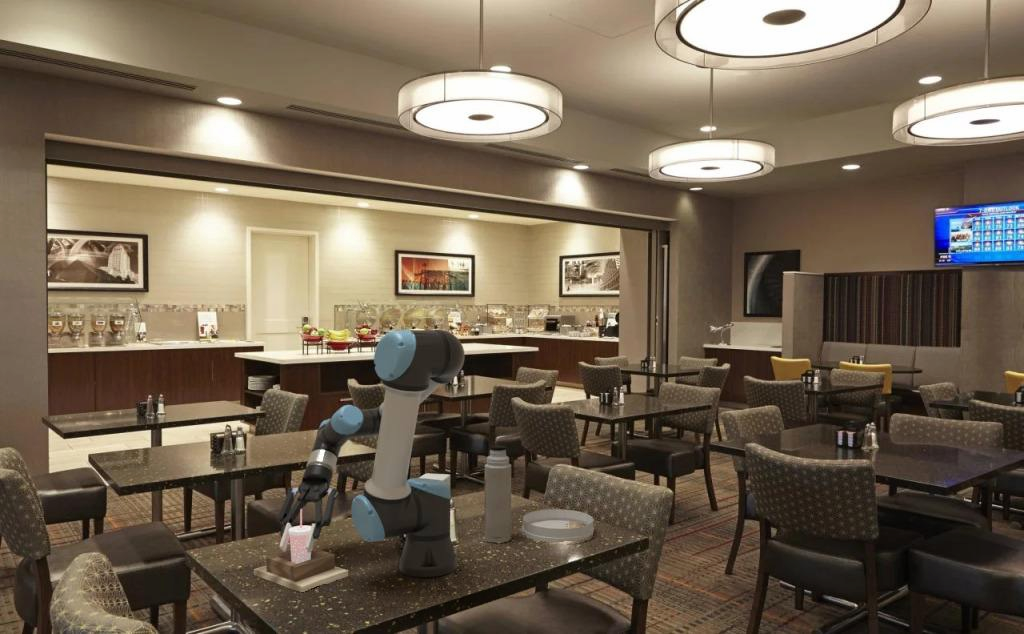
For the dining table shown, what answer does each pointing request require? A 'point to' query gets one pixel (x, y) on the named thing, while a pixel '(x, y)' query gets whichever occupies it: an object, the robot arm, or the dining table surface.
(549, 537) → the dish
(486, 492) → the thermos bottle
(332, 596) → the dining table surface
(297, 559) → the beverage cup
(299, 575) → the collar stand
